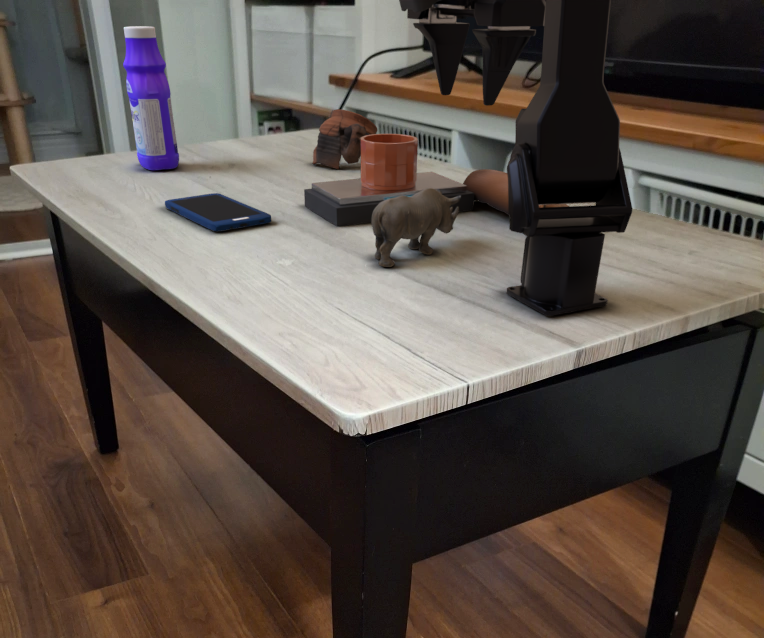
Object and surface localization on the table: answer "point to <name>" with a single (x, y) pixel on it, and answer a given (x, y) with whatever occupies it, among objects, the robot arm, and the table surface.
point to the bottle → (149, 100)
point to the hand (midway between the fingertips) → (466, 100)
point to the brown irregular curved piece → (341, 138)
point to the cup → (388, 161)
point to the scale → (374, 197)
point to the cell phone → (217, 212)
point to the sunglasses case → (493, 189)
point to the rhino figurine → (411, 221)
